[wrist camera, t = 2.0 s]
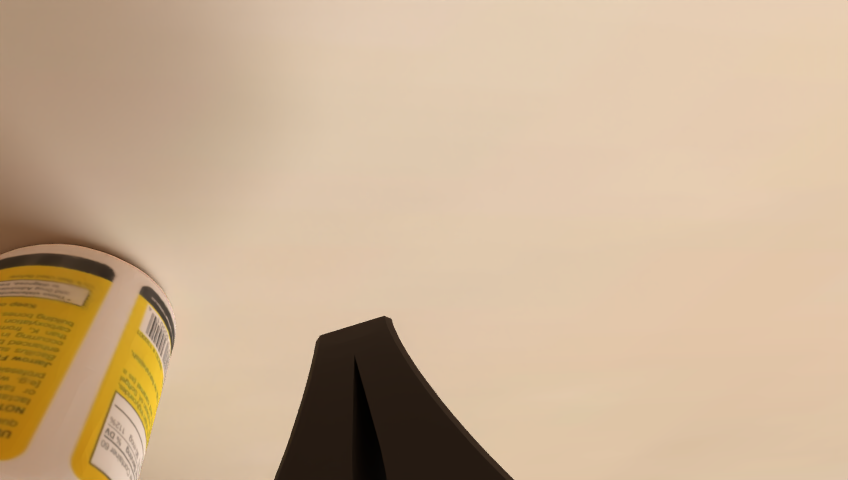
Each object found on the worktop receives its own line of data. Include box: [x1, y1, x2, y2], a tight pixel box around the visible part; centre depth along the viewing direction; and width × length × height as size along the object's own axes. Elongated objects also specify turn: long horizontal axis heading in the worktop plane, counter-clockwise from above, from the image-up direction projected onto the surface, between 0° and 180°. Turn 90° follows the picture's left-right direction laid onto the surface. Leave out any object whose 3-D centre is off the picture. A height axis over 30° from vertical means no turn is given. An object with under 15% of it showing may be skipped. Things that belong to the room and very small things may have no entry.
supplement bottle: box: [0, 244, 176, 480], centre depth 9 cm, size 5×5×8 cm
